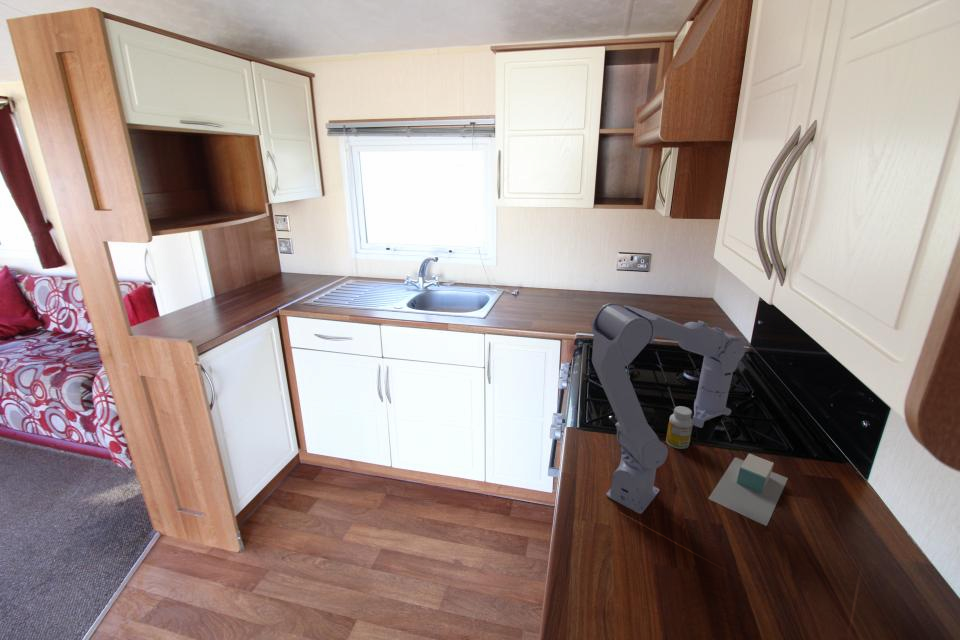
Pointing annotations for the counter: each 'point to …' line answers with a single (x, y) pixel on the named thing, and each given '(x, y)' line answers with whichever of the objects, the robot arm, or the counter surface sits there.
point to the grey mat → (748, 494)
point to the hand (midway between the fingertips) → (702, 440)
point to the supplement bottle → (679, 428)
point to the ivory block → (755, 473)
